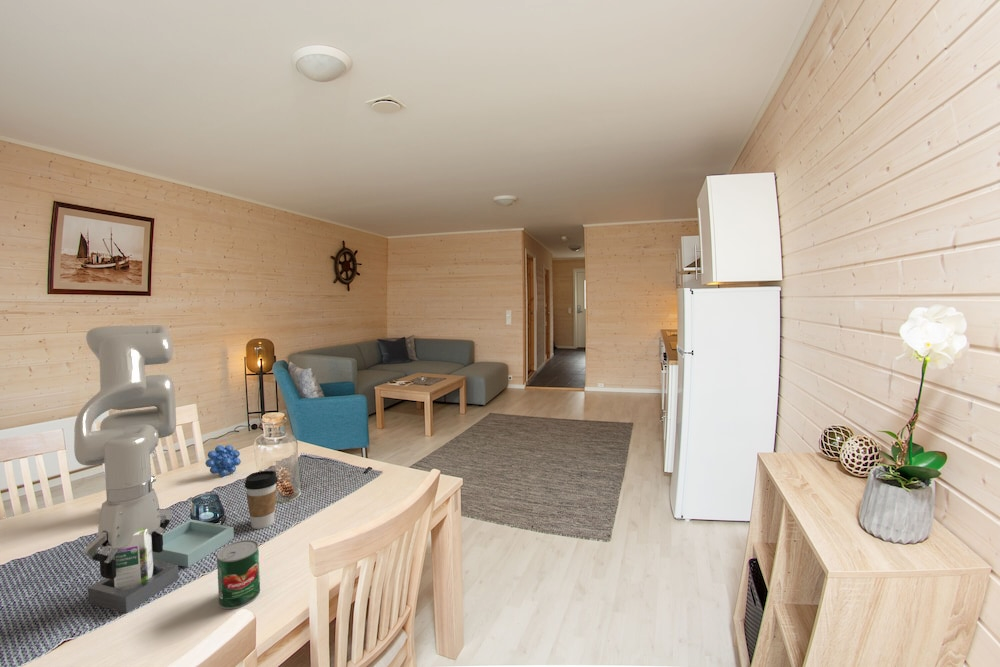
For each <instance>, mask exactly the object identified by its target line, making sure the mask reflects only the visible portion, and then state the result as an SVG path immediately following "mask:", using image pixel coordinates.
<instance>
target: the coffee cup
mask: <svg viewBox="0 0 1000 667" xmlns="http://www.w3.org/2000/svg"><path fill="white" fill-rule="evenodd" d="M277 484H278V476H277V472H276V471H275V470H261V471H257V472H253V473H250V474H249V475H247V476H246V478H245V482H244V488H245V489H246V499H247V500H246V501H247V506H248V513H249V514H248V515H249V519H250V526H251V528H252V529H255V530H259V529H265V528H268V527H270V526H272V525H273V524H274V522H275V514H276V513H275V512H276V502H277V501H276V500H277Z"/></svg>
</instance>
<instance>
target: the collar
mask: <svg viewBox="0 0 1000 667" xmlns="http://www.w3.org/2000/svg"><path fill="white" fill-rule="evenodd" d="M153 571H154V576H153V577H151V578H149V579H148V580H146V581H144V582H143V583H141V584H139V585H138V586H136V587H134V588H133V589H131V590H130V591H125V590H121V589H117V588H115V586H114V579H108V578H103V579H100V580H99V581H97V582H95V583H94V584H92V585H90V586H88V587H87V595H88V596H87V597H88V604H91V605H95V606H99V607H103V608H107V609H110V610H114V611H118V612H121V613H125V614H127V613H130V612H131V611H132V610H134V609H135V608H137V607H139V606H140V605H141V604H143V603H145V602H147V600H149V599H150V598H152V597H153V596H155V595H157V594H159V593H161V591H163V590H164V589H166V588H168V587H169V586H171V585H173V584H174V583H175V582H177V581H178V580H179V565H175V564H170V563H165V562H161V561H156V560H153Z"/></svg>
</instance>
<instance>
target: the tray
mask: <svg viewBox="0 0 1000 667" xmlns="http://www.w3.org/2000/svg"><path fill="white" fill-rule="evenodd" d="M234 529H235V528H234V526H230V525H223V524H220V523H214V522H208V521H207V522H206V521H201V520H196V519H189V520H187V521H185V522H182V523H181V524H179V525H177V526H175V527H173V528H172V529H171V528H170V529H169V530H167V531H165V533H164V534H163V551H162V552H160V553H158V552H153V560H156V561H160V562H165V563H170V564H174V565H178V567H179V566H180V567H185V568H190V567H192V566H193V565H195V564H196V563H198V562H199V561H201V560H202V559H204V558H206V557H207V556H209V555H211V553H214V552H215V551H217V550H218V549H220V548H222V547H224V545H226V544H228V543H229V542H232V540H233V539H234V538H235V534H234V533H235V531H234Z"/></svg>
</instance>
